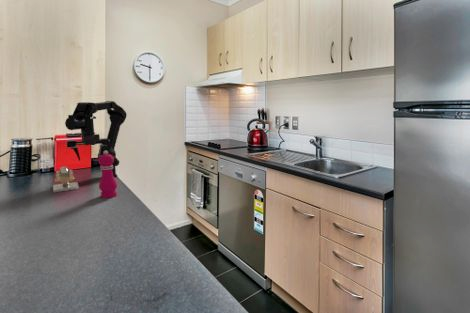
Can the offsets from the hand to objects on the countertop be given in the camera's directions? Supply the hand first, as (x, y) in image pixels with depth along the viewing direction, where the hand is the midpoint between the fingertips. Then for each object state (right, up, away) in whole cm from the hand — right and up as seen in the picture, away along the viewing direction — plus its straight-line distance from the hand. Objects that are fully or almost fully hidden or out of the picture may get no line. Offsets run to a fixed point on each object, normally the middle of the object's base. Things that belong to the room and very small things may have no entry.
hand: (90, 159), depth 138 cm
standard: (-8, -13, -6) cm, 17 cm away
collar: (-8, -9, -7) cm, 14 cm away
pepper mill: (+17, -16, -17) cm, 29 cm away
